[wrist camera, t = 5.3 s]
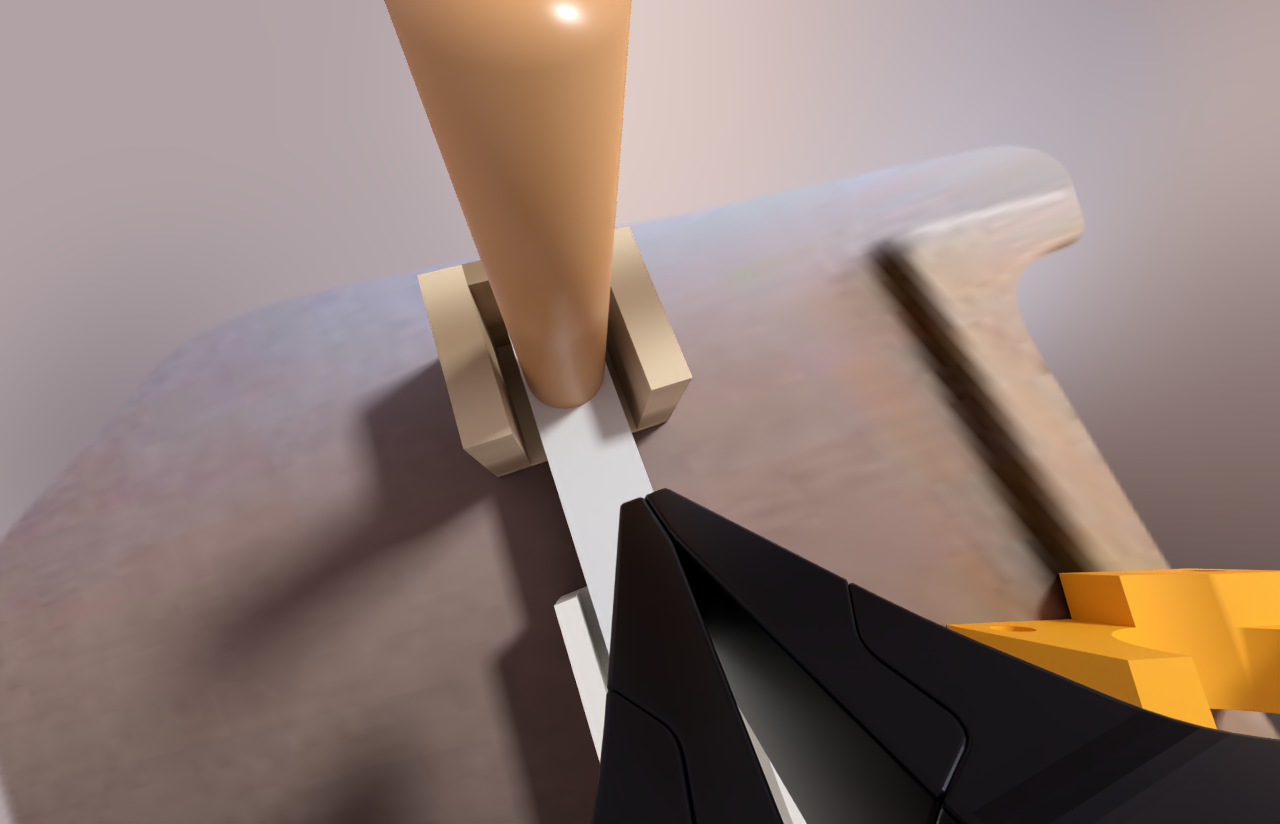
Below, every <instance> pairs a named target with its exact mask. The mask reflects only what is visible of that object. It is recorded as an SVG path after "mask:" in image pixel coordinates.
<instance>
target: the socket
mask: <svg viewBox="0 0 1280 824" xmlns="http://www.w3.org/2000/svg"><path fill="white" fill-rule="evenodd" d="M417 276H418V280H419V284H420V288H421V291H422V295H423V299H424V303H425V306H426V310H427V314H428V318H429V321H430V325H431V329H432V333H433V337H434V340H435V344H436V348H437V352H438V355H439V359H440V363H441V367H442V371H443V374H444V378H445V382H446V386H447V389H448V393H449V397H450V401H451V404H452V408H453V412H454V416H455V420H456V423H457V427H458V431H459V435H460V438H461V442H462V446H463V449H464V450H465V451H466V452H467V453H469V454H470V455H471V456H472V457H473V458H475V459H476V460H477V461H478V462H479V463H481V464H482V465H483V466H484V467H485V468H487V469H488V470H489V471H490V472H491V473H493V474H494V475H495V476H496V477H497V478H498V477H501V476H504V475H507V474H510V473H513V472H516V471H519V470H522V469H525V468H528V467H531V466H534V465H537V464H540V463H543V462H546V461H548V459H547V456H546V453H545V449H544V446H543V443H542V440H541V437H540V434H539V430H538V427H537V424H536V421H535V418H534V414H533V411H532V408H531V405H530V402H529V398H528V395H527V392H526V389H525V386H524V383H523V379H522V376H521V373H520V370H519V367H518V363H517V360H516V357H515V354H514V351H513V347H512V344H511V341H510V338H509V335H508V332H507V329H506V326H505V323H504V321H503V318H502V315H501V313H500V310H499V307H498V304H497V302H496V299H495V296H494V294H493V291H492V288H491V286H490V283H489V280H488V278H487V275H486V272H485V270H484V267H483V264H482V261H481V260H480V261H476V262H472V263H467V264H463V265H459V266H455V267H450V268H446V269H442V270H437V271H433V272H429V273H424V274H420V275H417ZM605 362H606V365H607V368H608V370H609V373H610V376H611V378H612V381H613V384H614V387H615V389H616V392H617V395H618V397H619V400H620V403H621V406H622V408H623V411H624V414H625V416H626V419H627V422H628V424H629V427H630V430H631V433H634V432H637V431H640V430H643V429H646V428H649V427H653V426H656V425H659V424H662V423H665V422H667V421H668V419H669V418H670V416H671V414H672V412H673V411H674V409H675V407H676V405H677V404H678V402H679V400H680V398H681V397H682V395H683V393H684V391H685V390H686V388H687V386H688V384H689V383H690V381H691V379H692V375H691V373H690V370H689V368H688V366H687V363H686V361H685V359H684V356H683V354H682V351H681V349H680V347H679V344H678V342H677V340H676V337H675V335H674V332H673V330H672V328H671V325H670V323H669V320H668V318H667V316H666V313H665V311H664V309H663V306H662V304H661V301H660V299H659V297H658V294H657V292H656V290H655V287H654V285H653V282H652V280H651V278H650V275H649V273H648V271H647V268H646V266H645V263H644V261H643V259H642V256H641V254H640V252H639V249H638V247H637V244H636V242H635V240H634V237H633V235H632V232H631V230H630V228H629V226H627V227H622V228H618V229H615V232H614V245H613V259H612V272H611V286H610V299H609V313H608V327H607V340H606V354H605Z"/></svg>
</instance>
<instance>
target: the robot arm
mask: <svg viewBox="0 0 1280 824" xmlns="http://www.w3.org/2000/svg"><path fill="white" fill-rule="evenodd" d="M607 689H608V692H607V694H606V704H605V717H604V729H603V739H602V748H601V758H600V767H599V776H598V783H597V789H596V796H595V802H594V808H593V815H592V821H591V824H784V823H783V820H782V818H781V815H780V813H779V810H778V807H777V805H776V802H775V800H774V797H773V795H772V792H771V790H770V787H769V785H768V782H767V779H766V777H765V774H764V772H763V769H762V767H761V764H760V762H759V759H758V757H757V754H756V751H755V749H754V746H753V744H752V741H751V739H750V736H749V734H748V731H747V729H746V726H745V723H744V721H743V718H742V716H741V713H740V711H739V709H740V710H741V712H742V714H743V715H744V717H745V719H746V721H747V722H748V724H749V726H750V727H751V729H752V731H753V733H754V734H755V736H756V738H757V739H758V741H759V743H760V745H761V746H762V748H763V750H764V751H765V753H766V755H767V757H768V758H769V760H770V762H771V763H772V765H773V767H774V769H775V770H776V772H777V774H778V775H779V777H780V779H781V781H782V782H783V784H784V786H785V787H786V789H787V791H788V792H789V794H790V796H791V798H792V799H793V801H794V803H795V804H796V806H797V808H798V810H799V811H800V813H801V815H802V816H803V818H804V820H805V822H806V823H807V824H1280V740H1278V739H1271V738H1264V737H1257V736H1250V735H1244V734H1238V733H1232V732H1227V731H1223V730H1218V729H1213V728H1209V727H1204V726H1200V725H1196V724H1193V723H1189V722H1185V721H1182V720H1178V719H1174V718H1171V717H1168V716H1165V715H1162V714H1158V713H1155V712H1152V711H1149V710H1146V709H1143V708H1140V707H1138V706H1135V705H1133V704H1130V703H1127V702H1125V701H1122V700H1120V699H1117V698H1114V697H1112V696H1109V695H1107V694H1105V693H1102V692H1100V691H1097V690H1095V689H1093V688H1090V687H1088V686H1085V685H1083V684H1080V683H1078V682H1076V681H1073V680H1071V679H1068V678H1066V677H1063V676H1061V675H1059V674H1056V673H1054V672H1051V671H1049V670H1046V669H1044V668H1042V667H1039V666H1037V665H1034V664H1032V663H1030V662H1027V661H1025V660H1022V659H1020V658H1017V657H1015V656H1013V655H1010V654H1008V653H1005V652H1003V651H1000V650H998V649H996V648H993V647H991V646H988V645H986V644H984V643H981V642H979V641H976V640H974V639H972V638H969V637H967V636H965V635H962V634H960V633H958V632H956V631H953V630H951V629H949V628H946V627H944V626H942V625H939V624H937V623H935V622H932V621H930V620H928V619H926V618H923V617H921V616H919V615H917V614H915V613H913V612H911V611H909V610H907V609H905V608H903V607H900V606H898V605H896V604H894V603H892V602H890V601H888V600H886V599H884V598H882V597H880V596H878V595H876V594H874V593H872V592H870V591H868V590H866V589H864V588H862V587H860V586H858V585H856V584H854V583H850V584H849V586H848V582H847V580H846V579H844V578H842V577H840V576H838V575H836V574H834V573H832V572H830V571H828V570H826V569H824V568H822V567H820V566H819V565H817V564H815V563H813V562H811V561H809V560H807V559H805V558H803V557H801V556H799V555H797V554H795V553H793V552H791V551H789V550H787V549H785V548H783V547H781V546H779V545H777V544H775V543H773V542H772V541H770V540H768V539H766V538H764V537H762V536H760V535H758V534H756V533H754V532H752V531H750V530H748V529H746V528H744V527H742V526H740V525H738V524H736V523H734V522H732V521H730V520H728V519H726V518H725V517H723V516H721V515H719V514H717V513H715V512H713V511H711V510H709V509H707V508H705V507H703V506H701V505H699V504H697V503H695V502H693V501H691V500H689V499H687V498H685V497H683V496H681V495H679V494H678V493H676V492H674V491H672V490H670V489H666V488H664V489H661V490H658V491H655V492H652V493H650V494H647V495H646V496H645V499H644V498H642V497H639V498H636V499H633V500H630V501H627V502H625V503H623V504H622V505H621V506H620V514H619V528H618V542H617V556H616V570H615V584H614V598H613V611H612V625H611V639H610V653H609V667H608V681H607ZM737 705H738V706H737ZM738 707H739V708H738Z"/></svg>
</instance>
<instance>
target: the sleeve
mask: <svg viewBox="0 0 1280 824" xmlns="http://www.w3.org/2000/svg"><path fill="white" fill-rule="evenodd" d="M554 608H555V611H556V615H557V618H558V621H559V625H560V628H561V632H562V635H563V638H564V642H565V645H566V649H567V652H568V656H569V659H570V662H571V666H572V669H573V673H574V676H575V680H576V683H577V686H578V690H579V693H580V697H581V700H582V704H583V707H584V710H585V714H586V717H587V721H588V724H589V728H590V731H591V734H592V738H593V741H594V745H595V748H596V751H597V755H598V758H599V762H600V758H601V748H602V739H603V729H604V717H605V704H606V694H607V692H608V689H607V681H608V667H609V653H608V650H607V647H606V644H605V641H604V638H603V634H602V631H601V628H600V625H599V622H598V618H597V615H596V612H595V609H594V606H593V602H592V599H591V596H590V593H589V590H588V587H587V586H586V587H584V588H581V589H579V590H576V591H573V592H571V593H568V594H566V595H563V596H561V597H560V598H559V600H558V601H557V602H556V604H555V605H554ZM737 706H738V705H737ZM738 708H739V707H738ZM739 711H740V713H741V716H742V718H743V721H744V723H745V726H746V729H747V731H748V734H749V736H750V739H751V741H752V744H753V746H754V749H755V751H756V754H757V757H758V759H759V762H760V764H761V767H762V769H763V772H764V774H765V777H766V779H767V782H768V785H769V787H770V790H771V792H772V795H773V797H774V800H775V802H776V805H777V807H778V810H779V813H780V815H781V818H782V820H783V823H784V824H807V823H806V822H805V820H804V818H803V816H802V815H801V813H800V811H799V810H798V808H797V806H796V804H795V803H794V801H793V799H792V798H791V796H790V794H789V792H788V791H787V789H786V787H785V786H784V784H783V782H782V781H781V779H780V777H779V775H778V774H777V772H776V770H775V769H774V767H773V765H772V763H771V762H770V760H769V758H768V757H767V755H766V753H765V751H764V750H763V748H762V746H761V745H760V743H759V741H758V739H757V738H756V736H755V734H754V733H753V731H752V729H751V727H750V726H749V724H748V722H747V721H746V719H745V717H744V715H743V714H742V712H741V710H740V709H739Z"/></svg>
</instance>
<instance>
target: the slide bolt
mask: <svg viewBox="0 0 1280 824" xmlns="http://www.w3.org/2000/svg"><path fill="white" fill-rule="evenodd" d="M384 1H385V3H386V6H387V9H388V12H389V14H390V17H391V20H392V22H393V25H394V27H395V30H396V33H397V36H398V38H399V41H400V43H401V46H402V49H403V52H404V54H405V57H406V60H407V63H408V65H409V68H410V71H411V73H412V76H413V79H414V81H415V84H416V86H417V89H418V92H419V95H420V98H421V100H422V103H423V106H424V108H425V111H426V114H427V116H428V119H429V122H430V124H431V127H432V130H433V132H434V135H435V138H436V141H437V143H438V146H439V149H440V151H441V154H442V157H443V159H444V162H445V165H446V167H447V170H448V173H449V175H450V178H451V180H452V183H453V186H454V189H455V191H456V194H457V197H458V200H459V202H460V205H461V208H462V210H463V213H464V215H465V218H466V221H467V224H468V226H469V229H470V232H471V235H472V237H473V240H474V242H475V245H476V248H477V251H478V253H479V256H480V259H481V261H482V264H483V267H484V270H485V272H486V275H487V278H488V280H489V283H490V286H491V288H492V291H493V294H494V296H495V299H496V302H497V304H498V307H499V310H500V313H501V315H502V318H503V321H504V323H505V326H506V329H507V332H508V335H509V338H510V341H511V344H512V347H513V351H514V354H515V357H516V360H517V363H518V367H519V370H520V373H521V376H522V379H523V383H524V386H525V389H526V392H527V395H528V398H529V402H530V405H531V408H532V411H533V414H534V418H535V421H536V424H537V427H538V430H539V434H540V437H541V440H542V443H543V446H544V449H545V453H546V456H547V459H548V462H549V465H550V469H551V472H552V475H553V478H554V481H555V485H556V488H557V491H558V494H559V497H560V500H561V504H562V507H563V510H564V513H565V516H566V520H567V523H568V526H569V529H570V532H571V536H572V539H573V542H574V545H575V548H576V551H577V555H578V558H579V561H580V564H581V567H582V571H583V574H584V577H585V580H586V583H587V587H588V590H589V593H590V596H591V599H592V602H593V606H594V609H595V612H596V615H597V618H598V622H599V625H600V628H601V631H602V634H603V638H604V641H605V644H606V647H607V650H608V653H610V639H611V625H612V611H613V598H614V584H615V570H616V556H617V542H618V528H619V514H620V506H621V505H622V504H623V503H625V502H627V501H630V500H633V499H636V498H639V497H642V498H644V499H645V496H646V495H647V494H650V493H652V492H653V489H652V487H651V484H650V481H649V479H648V476H647V473H646V470H645V468H644V465H643V462H642V460H641V457H640V454H639V452H638V449H637V446H636V443H635V441H634V438H633V435H632V433H631V430H630V427H629V424H628V422H627V419H626V416H625V414H624V411H623V408H622V406H621V403H620V400H619V397H618V395H617V392H616V389H615V387H614V384H613V381H612V378H611V376H610V373H609V370H608V368H607V365H606V362H605V354H606V340H607V327H608V313H609V299H610V286H611V272H612V259H613V245H614V232H615V217H616V204H617V190H618V177H619V176H618V175H619V164H620V150H621V136H622V123H623V109H624V95H625V82H626V69H627V55H628V41H629V27H630V14H631V0H384Z"/></svg>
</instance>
